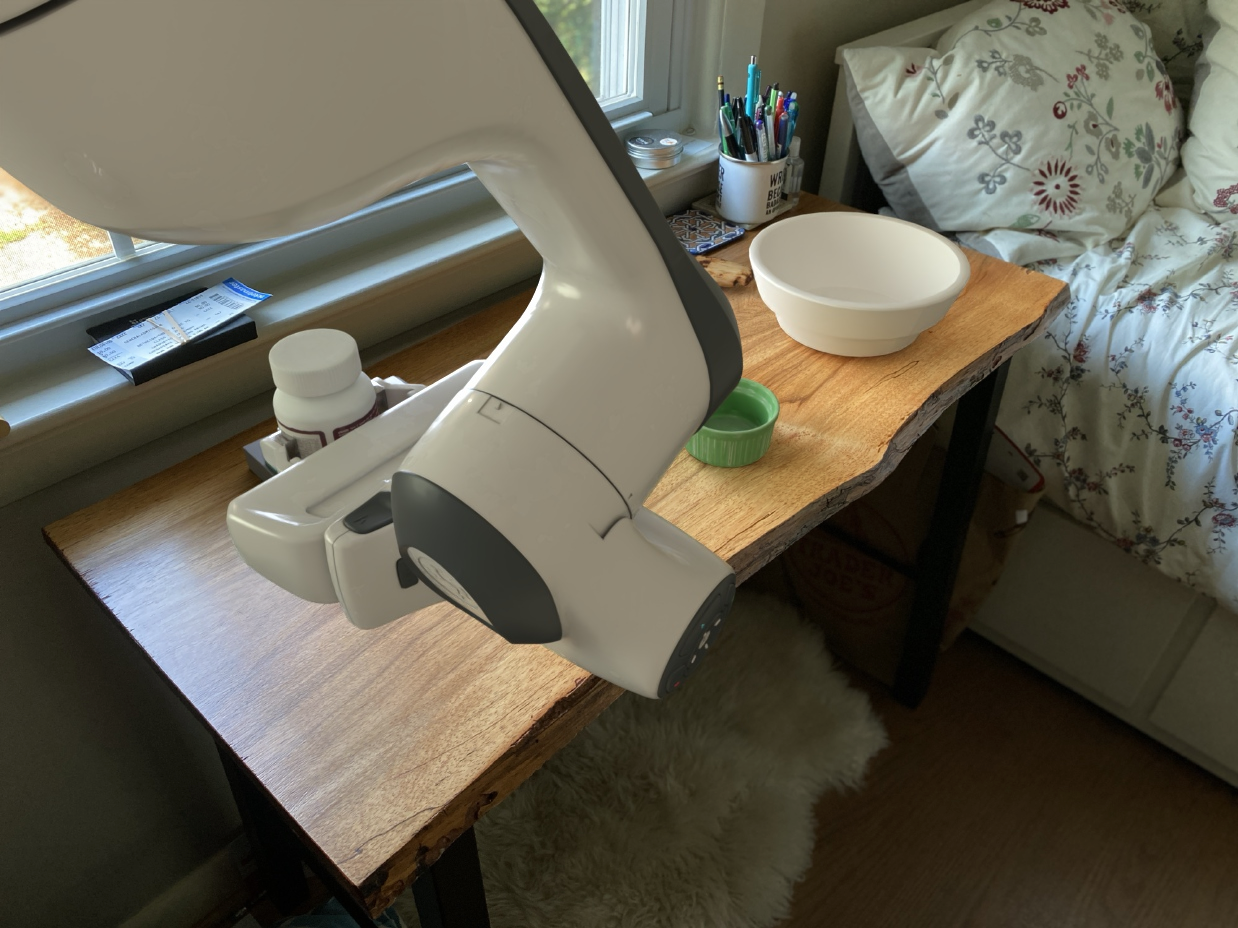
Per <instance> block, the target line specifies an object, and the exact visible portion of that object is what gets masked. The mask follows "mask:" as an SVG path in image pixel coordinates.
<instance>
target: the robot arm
mask: <svg viewBox="0 0 1238 928" xmlns="http://www.w3.org/2000/svg"><path fill="white" fill-rule="evenodd" d="M464 164H466V165H467V166H468V167H469V169H470V170H471V171H472V173H473V174H474V175H475V177H476V178H477V179H478V180H479V181H480V182H481V183H482V185H483V186H484V187H485V188H486V190H487V191H488V192H489V193H490V195H491V196H492V197H493V198H494V199H495V201H496V202H497V204H499V205H500V207H501V208H502V209H503V210H504V212H505V213H506V214H507V216H508V217H509V218H510V219H511V220H512V222H513V223H514V225H516V226H517V228H518V229H519V230H520V232H521V233H522V234H523V236H525V238H526V239H527V240H528V241H529V243H530V244H531V245H532V247H534V249H535V250H536V251H537V252H538V253H539V255H540V256H541V257H542V261H543V262H542V263H543V264H542V272H541V274H540V279H539V282H538V285H537V286H536V290H535V292H534V294H533V296H532V298H531V300H530V302H529V304H528V306H527V308H526V309H525V311H524V312H523V313H522V315H521V316H520V318H519V319H518V320H517V322H516V323H515V324H514V325H513V327H511V329H510V330H509V332H508V333H506V335H505V336H504V337H503V339H502V340H501V341H500V342H499V343H498V345H497V346H496V347H495V348H494V350H493V351H492V352H491V353H490V354H489V356H488V357H487V358H486V359H474V360H472V361H470V362H468V363H466V364H465V365H462V367H459V368H458V369H456V370H454V371H453V372H451V373H449V374H448V375H446V376H445V377H443V378H441V379H439V380H438V381H436V382H434V383H433V384H431V385H429V386H428V385H425V384H423V383H408V384H390V383H388V382H386V381H384V380H385V379H382V378H380V377H378V376H376V377H374V378H372V379H370V380H371V381H372V383H373V386H374V390H375V393H376V399H377V405H378V410H379V416H377V417H375V418H374V419H372V420H370V421H368V422H367V423H365V424H363V425H361V426H360V427H358V428H356V429H355V430H353V431H351V432H349V433H348V434H346V435H344V436H342V437H341V438H339V439H337V440H335V441H334V442H332V443H330V444H329V445H327V446H325V447H323V448H322V449H320V450H318V451H317V452H315V453H313V454H311V455H310V456H308V457H306V458H304V459H303V460H302V459H301V455H300V453H299V452H298V451H297V449H298V444H297V441H296V438H294V437H292V436H290V435H288V434H285V432H284V431H282V430H280V431H278V430H277V431H278V432H277V431H275V432H276V433H275V432H273V433H274V434H272V433H271V434H272V435H270V434H269V435H270V436H268V435H267V436H268V437H266V436H265V437H266V438H264V437H263V438H264V439H263V440H261V441H260V446H261V449H262V453H263V456H264V458H265V460H266V461H267V462H268V464H270V465H271V466H273V467H274V468H276V469H277V471H278V474H277V475H275V476H273V477H272V478H270V479H268V480H266V481H265V482H263V481H262V482H261V483H260V484H257V485H256V486H254V487H253V488H250V489H249V490H248V491H246V492H244V493H242V494H240V495H239V496H237V497H235V498H233V499H232V500H231V501H230V502H229V503H228V506H227V510H226V518H225V521H226V527H227V530H228V532H229V536H230V539H231V542H232V544H233V546H234V548H235V551H236V553H237V555H238V556H239V558H240V559H241V561H242V562H243V563H244V564H246V565H247V566H248V567H249V568H250V569H251V570H253V571H255V572H256V573H257V574H258V575H260V576H261V577H263V578H265V579H266V580H268V581H269V582H271V583H272V584H274V585H276V586H277V587H279V588H281V589H282V590H284V591H286V592H288V593H290V594H292V595H293V596H295V597H297V598H300V599H301V600H304V601H307V602H310V603H313V604H319V605H333V604H338V603H339V605H340V607H341V609H342V611H343V613H344V615H345V617H346V619H347V620H348V621H349V623H350V624H352V625H353V626H354V627H356V628H358V629H360V630H364V631H370V630H374V629H375V630H376V629H378V628H380V627H382V626H385V625H387V624H389V623H392V622H394V621H396V620H399V619H400V618H403V617H405V616H408V615H410V614H413V613H415V612H418V611H420V610H423V609H427V608H428V607H431V606H434V605H437V604H441V603H443V602H448V603H449V604H451V605H452V606H453V607H455V608H457V609H459V610H460V611H462V612H463V613H465V614H466V615H468V616H470V617H471V618H472V619H474V620H476V621H478V622H479V623H481V624H482V625H483V626H485V627H487V628H488V629H490V630H491V631H493V632H494V633H496V634H497V635H499V636H500V637H502V638H503V639H504V640H505V641H507V642H508V643H509V644H511V645H540V646H541V647H544V648H545V649H547V650H548V651H550V652H552V653H553V654H555V655H557V656H559V657H560V658H562V659H563V660H566V661H567V662H569V663H571V664H573V665H575V666H576V667H579V668H580V669H582V670H585V671H586V672H587V673H590V674H592V675H594V676H596V677H598V678H600V679H603V680H605V681H607V682H609V683H611V684H613V685H615V686H618V687H619V688H622V689H624V690H627V691H629V692H633V693H635V694H637V695H640V696H642V697H645V698H648V699H652V700H659V699H662V698H664V697H666V696H667V695H669V694H670V693H674V692H675V691H677V690H678V689H679V688H680V687H681V686H683V684H684V683H685V682H686V681H687V680H688V679H689V678H690V677H691V676H692V675H693V673H695V671H696V669H697V668H698V667H699V665H700V664H701V663H702V661H703V660H704V658H705V657H706V655H707V653H708V652H709V650H710V648H711V647H712V646H713V644H714V642H715V641H716V639H717V638H718V636H719V634H720V632H721V631H722V629H723V625H724V624H725V621H726V619H727V618H728V616H729V614H730V613H731V609H732V606H733V603H734V600H735V596H736V590H737V588H736V582H737V575H736V571H735V569H734V568H733V567H732V566H731V565H730V564H729V563H728V562H726V560H724V559H723V558H722V557H720V556H719V555H718V554H717V553H715V552H714V551H713V550H712V549H710V548H709V547H707V546H706V545H705V544H704V543H702V542H701V541H700V540H698V539H696V538H695V537H694V536H692V535H690V534H689V533H687V532H686V531H684V530H683V529H681V528H680V527H678V526H677V525H675V524H674V523H673V522H671V521H669V520H667V519H666V518H664V517H663V516H661V515H660V514H658V513H656V512H654V511H653V510H651V509H649V508H648V507H646V506H644V505H645V503H646V502H647V500H648V499H649V497H650V496H651V495H652V493H653V492H654V490H655V489H656V488H657V486H658V485H659V484H660V482H661V481H662V479H663V478H664V476H665V475H666V474H667V472H668V471H669V470H670V468H671V467H672V465H673V464H674V463H675V461H676V460H677V459H678V457H679V455H680V454H681V453H682V452H683V450H684V449H685V446H686V444H687V443H688V442H689V440H690V439H691V437H692V436H693V435H695V434H696V433H697V432H698V431H699V430H700V429H701V428H702V427H703V426H704V424H705V423H706V422H707V421H708V420H709V419H710V417H711V416H712V415H713V414H714V413H715V411H716V410H717V409H718V408H719V407H720V406H721V404H722V403H723V402H724V401H725V400H726V399H727V397H728V396H729V395H730V394H731V393H732V392H733V390H734V389H735V388H736V387H737V385H738V384H739V382H740V380H741V378H743V372H744V355H743V354H744V353H743V344H742V340H741V339H742V338H741V332H740V329H739V324H738V321H737V318H736V315H735V312H734V309H733V307H732V305H731V302H730V300H729V298H728V297H727V295H726V293H725V292H724V290H723V289H722V287H721V286H719V285H718V284H717V282H716V281H715V280H714V279H713V278H712V276H711V275H710V274H709V273H708V272H707V271H706V270H705V268H704V267H703V266H702V265H701V264H700V263H699V262H698V261H697V260H696V259H695V258H694V256H695V255H694V254H692V253H691V252H690V251H689V250H688V249H687V248H686V247H685V245H684V244H683V243H682V242H681V240H680V238H678V236H677V234H676V233H675V231H674V230H673V228H672V226H671V225H670V223H669V221H668V220H667V218H666V216H665V215H664V213H663V211H662V209H661V208H660V206H659V204H658V203H657V200H656V199H655V198H654V196H653V194H652V192H651V191H650V189H649V187H648V186H647V184H646V182H645V181H644V179H643V177H642V175H641V173H640V172H639V170H638V168H637V167H636V165H635V162H634V161H633V160H632V157H630V155H629V153H628V151H627V149H626V148H625V146H624V144H623V143H622V141H621V139H620V138H619V136H618V134H617V133H616V131H615V129H614V128H613V126H612V124H611V122H610V121H609V119H608V117H607V115H606V114H605V112H604V110H603V109H602V107H601V105H600V104H599V102H598V100H597V98H596V97H595V95H594V93H593V92H592V90H591V88H590V86H589V85H588V83H587V81H586V80H585V79H584V77H583V75H582V73H581V72H580V70H579V69H578V67H577V65H576V64H575V62H574V60H573V58H572V57H571V55H570V53H568V51H567V49H566V48H565V46H564V44H563V43H562V41H561V39H560V38H559V36H558V35H557V33H556V32H555V31H554V29H553V27H552V26H551V24H550V23H549V21H548V20H547V18H546V17H545V15H544V14H543V13H542V11H541V10H540V8H539V7H538V4H536V3H535V1H534V0H0V168H1V169H2V170H3V171H5V172H6V173H7V174H8V175H10V176H11V177H13V178H14V179H15V180H16V181H18V182H19V183H21V184H22V185H23V186H25V187H26V188H27V189H29V190H30V191H32V192H33V193H34V194H36V195H37V196H39V197H40V198H41V199H43V200H44V201H46V202H47V203H49V204H50V205H52V206H53V207H54V208H56V209H57V210H58V211H60V212H63V213H64V214H65V215H66V216H69V217H71V218H73V219H74V220H77V221H79V222H81V223H85V224H87V225H90V226H93V227H95V228H98V229H101V230H104V231H107V232H110V233H113V234H117V235H122V236H124V237H129V238H132V239H133V238H134V239H138V240H141V241H147V242H151V243H158V244H159V243H160V244H161V243H162V244H169V245H178V246H179V245H181V246H194V247H195V246H227V245H242V244H249V243H257V242H258V243H259V242H262V241H263V242H264V241H268V240H274V239H279V238H284V237H287V236H292V235H296V234H299V233H304V232H307V231H311V230H314V229H317V228H320V227H323V226H326V225H329V224H333V223H335V222H337V221H340V220H342V219H344V218H347V217H349V216H351V215H353V214H355V213H358V212H360V211H361V210H364V209H365V208H367V207H368V206H370V205H372V204H374V203H376V202H377V201H380V200H382V199H383V198H386V197H387V196H390V195H391V194H394V193H395V192H397V191H399V190H401V189H403V188H406V187H407V186H409V185H411V184H414V183H416V182H418V181H420V180H423V179H425V178H427V177H431V176H432V175H435V174H439V173H441V172H443V171H446V170H449V169H452V168H455V167H458V166H461V165H462V166H463V165H464Z"/></svg>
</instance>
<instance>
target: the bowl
mask: <svg viewBox="0 0 1238 928" xmlns="http://www.w3.org/2000/svg"><path fill="white" fill-rule="evenodd" d="M748 254H749V255H748V257H749V261H750V265H751V269H752V270H753V273H754V280H755V284H756V287H757V290H758V293H759V295H760V299H761V300H762V302H763V303H764V304H765V305H766V306H767V308H768V309H769V310H770V311H772V312H773V313H774V315H775V318H776V320H777V322H778V325H779V327H780V328H781V329H782V331H783V332H784V333H785V334H786V335H788V337H790V338H791V339H792V340H794V341H795V342H798V343H799V344H801V345H803V346H805V347H808V348H811V349H813V350H816V351H819V352H823V353H826V354H831V355H837V356H842V357H854V358H855V357H857V358H865V357H866V358H867V357H879V356H884V355H889V354H892V353H896V352H899V351H901V350H903V349H905V348H907V347H909V346H910V345H911V344H912V343H914V342H915V341H916V340H917V338H918V337H919V336H920V334H921V333H922V332H925V331H927V330H928V329H930V328H932V327H934V326H936V325H937V324H938V323H939V322H941V320H942V319H944V318H945V316H946V315H947V313H948V312H949V311H950V309H951V308H952V306H953V305H954V303H955V302H956V301H957V299H958V298H959V296H960V295H961V294H962V292H963V290H964V289H965V287H966V286H967V284H968V282H969V280H970V278H971V264H970V262H969V260H968V257H967V255H966V254H965V252H963V251H962V249H961V248H960V247H959V246H958V245H957V244H955V243H954V242H953V241H951V240H950V239H949V238H948V237H946V236H944V235H942V234H940V233H938V232H937V231H934V230H933V229H930V228H927V227H925V226H924V225H923V226H922V225H920V224H917V223H916V222H915V223H914V222H911V221H908V220H904V219H901V218H896V217H892V216H886V215H883V214H882V215H881V214H876V213H875V214H874V213H866V212H858V211H855V212H854V211H826V212H825V211H823V212H821V211H820V212H814V213H806V214H800V215H796V216H791V217H788V218H784V219H782V220H779V221H777V222H774V223H772V224H770V225H768V226H767V227H765V228H763V229H762V230H760V232H759V233H757V235H756V236H754V238H753V239H752V241H751V244H750V245H749V248H748Z"/></svg>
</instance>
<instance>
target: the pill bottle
mask: <svg viewBox="0 0 1238 928" xmlns="http://www.w3.org/2000/svg"><path fill="white" fill-rule="evenodd" d="M268 361H269V366H270V369H271V374H272V378H273V379H272V380H273V383H274V385H275V387H276V389H275V391H274V394H273V399H272V406H273V411H274V415H275V418H276V422H277V425H278V428H279V430H282V431H284V432H285V434H288V435H290V436H292V437H294V438H296V441H297V444H298V449H297V451H298V452H299V453H300V455H301V459H302V460H303V459H304V458H306V457H308V456H310V455H311V454H313V453H315V452H317V451H318V450H320V449H322V448H323V447H325V446H327V445H329V444H330V443H332V442H334V441H335V440H337V439H339V438H341V437H342V436H344V435H346V434H348V433H349V432H351V431H353V430H355V429H356V428H358V427H360V426H361V425H363V424H365V423H367V422H368V421H370V420H372V419H374V418H375V417H377V416H379V410H378V405H377V399H376V393H375V390H374V386H373V383H372V381H371V380H372V379H371V378H370V377H369V376H368V375H367V374H366V373H365V372H364V371H362V368H363V367H362V361H361V358H360V354H359V348H358V344H357V341H356V339H355V338H354V337H352V335H350V334H349V333H347V332H345V331H343V330H339V329H333V328H312V329H306V330H302V331H298V332H295V333H292V334H290V335H287V336H285V337H284V338H282V339H280V340H278V342H276V343H275V344H274V345H273V346H272V347H271V349H270V350H269V354H268Z"/></svg>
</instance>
